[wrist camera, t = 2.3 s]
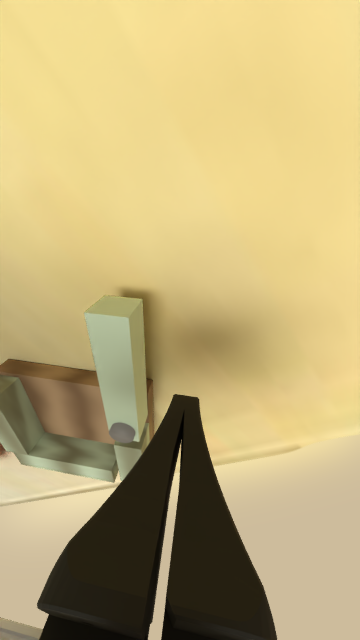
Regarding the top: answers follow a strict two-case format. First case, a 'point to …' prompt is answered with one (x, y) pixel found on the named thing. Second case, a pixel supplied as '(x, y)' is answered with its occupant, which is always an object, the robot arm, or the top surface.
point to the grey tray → (64, 421)
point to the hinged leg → (120, 363)
